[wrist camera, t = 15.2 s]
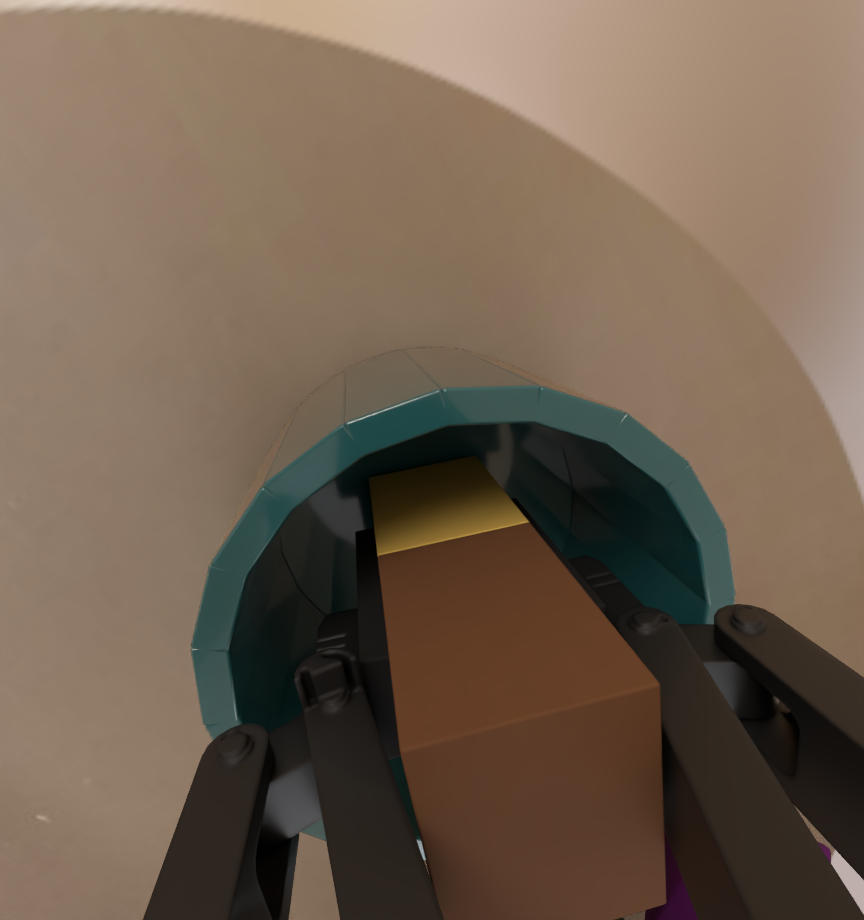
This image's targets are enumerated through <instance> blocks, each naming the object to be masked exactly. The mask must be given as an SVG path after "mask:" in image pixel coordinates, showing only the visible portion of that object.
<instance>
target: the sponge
mask: <svg viewBox="0 0 864 920" xmlns="http://www.w3.org/2000/svg"><path fill="white" fill-rule="evenodd" d="M369 486H370V495H371V504H372V513H373V521H374V530H375V539H376V548H377V556H378V565H379V574H380V583H381V591H382V600H383V609H384V618H385V626H386V635H387V644H388V653H389V661H390V670H391V679H392V688H393V696H394V705H395V714H396V723H397V731H398V740H399V749H400V754H401V758H402V763H403V767H404V771H405V775H406V779H407V783H408V788H409V792H410V796H411V800H412V804H413V808H414V813H415V817H416V821H417V825H418V829H419V833H420V838H421V842H422V846H423V850H424V854H425V858H426V863H427V867H428V871H429V875H430V879H431V883H432V886H433V889H434V892H435V895H436V897H437V900H438V903H439V906H440V909H441V912H442V914H443V917H444V920H614V919H618V918H621V917H624V916H628V915H631V914H634V913H637V912H641V911H644V910H647V909H651V908H654V907H657V906H661V905H664V904H665V903H666V873H665V838H664V803H663V768H662V733H661V698H660V684H659V682H658V681H657V680H656V678H655V677H654V676H653V675H652V673H651V672H650V671H649V670H648V668H647V667H646V666H645V665H644V663H643V662H642V661H641V660H640V658H639V657H638V656H637V655H636V654H635V652H634V651H633V650H632V649H631V647H630V646H629V645H628V644H627V642H626V641H625V640H624V639H623V637H622V636H621V635H620V634H619V632H618V631H617V630H616V629H615V628H614V626H613V625H612V624H611V623H610V621H609V620H608V619H607V618H606V616H605V615H604V614H603V613H602V611H601V610H600V609H599V608H598V606H597V605H596V604H595V603H594V602H593V600H592V599H591V598H590V597H589V595H588V594H587V593H586V592H585V590H584V589H583V588H582V587H581V585H580V584H579V583H578V582H577V580H576V579H575V578H574V577H573V576H572V574H571V573H570V572H569V571H568V569H567V568H566V567H565V566H564V564H563V563H562V562H561V561H560V559H559V558H558V557H557V556H556V554H555V553H554V552H553V551H552V550H551V548H550V547H549V546H548V545H547V543H546V542H545V541H544V540H543V538H542V537H541V536H540V535H539V533H538V532H537V531H536V530H535V528H534V527H533V526H532V525H531V524H530V523H529V521H528V520H527V519H526V517H525V516H524V515H523V514H522V512H521V511H520V510H519V509H518V507H517V506H516V505H515V504H514V502H513V501H512V500H511V499H510V498H509V496H508V495H507V494H506V493H505V491H504V490H503V489H502V488H501V486H500V485H499V484H498V483H497V481H496V480H495V479H494V478H493V476H492V475H491V474H490V473H489V472H488V470H487V469H486V468H485V467H484V465H483V464H482V463H481V462H480V460H479V459H478V458H477V457H476V456H470V457H466V458H461V459H456V460H451V461H446V462H441V463H437V464H432V465H427V466H422V467H417V468H412V469H408V470H403V471H398V472H393V473H388V474H383V475H379V476H374V477H370V478H369Z"/></svg>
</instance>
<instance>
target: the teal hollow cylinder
mask: <svg viewBox="0 0 864 920" xmlns="http://www.w3.org/2000/svg"><path fill="white" fill-rule="evenodd" d="M470 456H476V457H477V458H478V459H479V460H480V462H481V463H482V464H483V465H484V467H485V468H486V469H487V470H488V472H489V473H490V474H491V475H492V476H493V478H494V479H495V480H496V481H497V483H498V484H499V485H500V486H501V488H502V489H503V490H504V491H505V493H506V494H507V495H508V496H509V498H510V499H513V498H516V499H517V500H518V501H519V502H520V504H521V505H522V506H523V507H524V508H525V509H526V511H527V512H528V513H529V514H530V515H531V517H532V518H533V519H534V520H535V521H536V523H537V524H538V525H539V526H540V527H541V529H542V530H543V531H544V532H545V533H546V535H547V536H548V537H549V538H550V539H551V541H552V542H553V543H554V544H555V545H556V547H557V548H558V549H559V550H560V551H561V553H562V554H563V555H564V556H565V557H566V559H572V558H576V557H580V556H585V555H588V556H590V557H593V558H595V559H597V560H599V561H601V562H603V563H604V564H605V566H606V567H607V568H608V569H609V570H610V571H611V572H612V574H614V575H615V576H616V577H617V578H618V579H619V581H620V582H622V583H623V584H624V585H625V586H626V587H627V588H628V589H629V591H630V592H631V593H632V594H633V595H634V596H635V597H636V598H637V599H638V600H639V601H640V602H641V603H642V604H643V605H644V606H645V607H652V608H656V609H660V610H662V611H664V612H666V613H668V614H670V615H671V616H672V617H673V618H674V619H675V620H676V622H677V623H678V624H714V615H715V613H716V612H717V610H718V609H720V608H722V607H724V606H727V605H735V598H734V597H735V595H736V592H735V586H734V579H733V572H732V565H731V558H730V551H729V544H728V537H727V531H726V529H725V525H724V523H723V521H722V519H721V518H720V516H719V514H718V512H717V511H716V509H715V507H714V505H713V504H712V502H711V500H710V498H709V497H708V495H707V493H706V491H705V490H704V488H703V486H702V484H701V483H700V481H699V479H698V477H697V475H696V474H695V472H694V470H693V468H692V467H691V465H690V464H689V462H688V461H687V460H686V459H685V458H684V457H682V456H681V455H680V454H679V453H677V452H676V451H675V450H674V449H672V448H671V447H670V446H669V445H667V444H666V443H665V442H664V441H662V440H661V439H660V438H659V437H657V436H656V435H655V434H653V433H652V432H651V431H650V430H648V429H647V428H646V427H645V426H643V425H642V424H641V423H640V422H638V421H637V420H636V419H635V418H633V417H632V416H631V415H630V414H628V413H626V412H623V411H622V410H619V409H617V408H614V407H612V406H610V405H607V404H605V403H602V402H600V401H598V400H595V399H593V398H590V397H588V396H585V395H583V394H581V393H578V392H576V391H573V390H571V389H568V388H566V387H564V386H561V385H559V384H556V383H554V382H551V381H549V380H547V379H544V378H542V377H539V376H537V375H534V374H532V373H530V372H527V371H525V370H522V369H520V368H517V367H515V366H513V365H510V364H507V363H504V362H501V361H497V360H494V359H491V358H489V357H486V356H483V355H479V354H476V353H473V352H469V351H466V350H463V349H462V350H460V349H451V348H443V347H418V348H411V349H404V350H397V351H392V352H389V353H385V354H382V355H378V356H374V357H371V358H369V359H367V360H364V361H362V362H360V363H357V364H355V365H353V366H351V367H349V368H347V369H345V370H344V371H342V372H340V373H339V374H337V375H335V376H334V377H332V378H330V379H329V380H328V381H327V382H325V383H324V384H323V385H322V386H320V387H319V388H318V389H317V390H315V391H314V392H313V393H312V394H311V395H310V396H309V397H308V398H307V399H306V400H305V401H304V402H303V403H301V404H300V406H299V407H298V408H297V409H296V410H295V412H294V413H293V415H292V416H291V418H290V419H289V420H288V422H287V423H286V424H285V426H284V427H283V429H282V431H281V432H280V434H279V436H278V437H277V439H276V440H275V442H274V443H273V445H272V446H271V448H270V450H269V451H268V453H267V455H266V457H265V459H264V461H263V462H262V464H261V466H260V468H259V470H258V472H257V474H256V476H255V478H254V480H253V482H252V484H251V486H250V488H249V489H248V491H247V493H246V495H245V497H244V499H243V501H242V503H241V505H240V507H239V509H238V511H237V513H236V514H235V516H234V518H233V520H232V522H231V524H230V526H229V528H228V530H227V532H226V534H225V536H224V538H223V540H222V541H221V543H220V545H219V547H218V549H217V551H216V553H215V555H214V557H213V559H212V561H211V563H210V565H209V568H208V572H207V576H206V581H205V585H204V589H203V594H202V598H201V602H200V607H199V611H198V615H197V620H196V624H195V629H194V633H193V637H192V642H191V656H192V662H193V668H194V674H195V680H196V686H197V692H198V698H199V704H200V710H201V716H202V722H203V724H204V725H205V728H206V730H207V732H208V733H209V735H210V736H211V738H212V740H214V739H215V738H216V737H217V736H219V735H220V734H222V733H223V732H225V731H227V730H228V729H230V728H232V727H235V726H238V725H241V724H249V723H255V724H258V725H260V726H263V727H264V729H265V730H266V731H267V733H268V732H270V731H272V730H274V729H276V728H278V727H280V726H282V725H284V724H286V723H288V722H289V721H291V720H293V719H294V718H295V717H296V716H297V715H299V714H300V713H301V712H302V711H303V708H302V705H301V702H300V698H299V695H298V692H297V688H296V685H295V682H294V677H295V671H296V670H297V668H298V667H299V665H300V663H301V662H303V661H304V660H305V659H306V658H307V657H309V656H310V655H312V654H314V653H316V646H317V635H318V627H319V626H320V624H321V623H322V621H323V620H324V618H325V617H326V615H328V614H332V613H337V612H341V611H346V610H350V609H355V608H358V602H357V571H356V540H355V532H356V531H361V530H365V529H370V528H374V521H373V513H372V504H371V495H370V486H369V478H370V477H374V476H379V475H383V474H388V473H393V472H398V471H403V470H408V469H412V468H417V467H422V466H427V465H432V464H437V463H441V462H446V461H451V460H456V459H461V458H466V457H470ZM389 763H390V766H391V769H392V772H393V775H394V777H395V780H396V783H397V786H398V789H399V792H400V795H401V797H402V800H403V803H404V806H405V809H406V812H407V815H408V817H409V820H410V823H411V826H412V829H413V832H414V835H415V837H416V840H417V843H418V846H419V849H420V852H421V855H422V857H423V860H424V861H426V858H425V854H424V850H423V846H422V842H421V838H420V833H419V829H418V825H417V821H416V817H415V813H414V808H413V804H412V800H411V796H410V792H409V788H408V783H407V779H406V775H405V771H404V767H403V763H402V758H401V757H397V758H393V759H389ZM301 832H302V833H305V834H308V835H310V836H313V837H316V838H319V839H322V840H324V841H326V836H325V830H324V824H323V819H321V820H319V821H318V822H316V823H314V824H313V825H311V826H309V827H308V828H306V829H304V830H303V831H301Z"/></svg>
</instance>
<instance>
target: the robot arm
mask: <svg viewBox="0 0 864 920" xmlns="http://www.w3.org/2000/svg"><path fill="white" fill-rule="evenodd" d="M511 500H512V501H513V502H514V504H515V505H516V506H517V507H518V509H519V510H520V511H521V512H522V514H523V515H524V516H525V517H526V519H527V520H528V521H529V523H530V524H531V525H532V526H533V527H534V528H535V530H536V531H537V532H538V533H539V535H540V536H541V537H542V538H543V540H544V541H545V542H546V543H547V545H548V546H549V547H550V548H551V550H552V551H553V552H554V553H555V554H556V556H557V557H558V558H559V559H560V561H561V562H562V563H563V564H564V566H565V567H566V568H567V569H568V571H569V572H570V573H571V574H572V576H573V577H574V578H575V579H576V580H577V582H578V583H579V584H580V585H581V587H582V588H583V589H584V590H585V592H586V593H587V594H588V595H589V597H590V598H591V599H592V600H593V602H594V603H595V604H596V605H597V606H598V608H599V609H600V610H601V611H602V613H603V614H604V615H605V616H606V618H607V619H608V620H609V621H610V623H611V624H612V625H613V626H614V628H615V629H616V630H617V631H618V632H619V634H620V635H621V636H622V637H623V639H624V640H625V641H626V642H627V644H628V645H629V646H630V647H631V649H632V650H633V651H634V652H635V654H636V655H637V656H638V657H639V658H640V660H641V661H642V662H643V663H644V665H645V666H646V667H647V668H648V670H649V671H650V672H651V673H652V675H653V676H654V677H655V678H656V680H657V681H658V682H659V684H660V698H661V733H662V768H663V803H664V831H665V833H666V836H667V839H668V841H669V844H670V847H671V849H672V852H673V855H674V857H675V860H676V863H677V865H678V868H679V871H680V873H681V876H682V879H683V881H684V884H685V887H686V889H687V892H688V895H689V897H690V900H691V903H692V905H693V908H694V911H695V913H696V916H697V919H698V920H864V915H863V913H862V912H861V910H860V908H859V907H858V905H857V904H856V902H855V901H854V899H853V897H852V896H851V894H850V893H849V891H848V890H847V888H846V886H845V885H844V883H843V882H842V880H841V879H840V877H839V876H838V874H837V872H836V871H835V869H834V868H833V866H832V865H831V863H830V861H829V860H828V858H827V857H826V855H825V854H824V852H823V850H822V849H821V847H820V846H819V844H818V843H817V841H816V839H815V838H814V836H813V835H812V833H811V832H810V830H809V828H808V827H807V825H806V824H805V822H804V821H803V819H802V818H801V816H800V814H799V813H798V811H797V810H796V808H795V807H794V805H795V806H796V807H797V808H798V810H799V811H800V812H801V813H802V814H803V815H804V816H805V817H806V818H807V819H808V820H809V821H810V822H811V824H812V825H813V826H814V827H815V828H816V829H817V830H818V831H819V832H820V833H821V834H822V835H823V837H824V838H825V839H826V840H827V841H828V842H829V843H830V844H831V845H832V846H833V847H834V848H835V849H836V851H837V852H838V853H839V854H840V855H841V856H842V857H843V858H844V859H845V860H846V861H847V862H848V863H849V865H850V866H851V867H852V868H853V869H854V870H855V871H856V872H857V873H858V874H859V875H860V876H861V878H863V880H864V677H862V676H861V675H859V674H858V673H857V672H855V671H854V670H852V669H851V668H849V667H848V666H847V665H845V664H844V663H842V662H841V661H839V660H838V659H837V658H835V657H834V656H832V655H831V654H829V653H828V652H827V651H825V650H824V649H822V648H821V647H820V646H818V645H817V644H815V643H814V642H812V641H811V640H810V639H808V638H807V637H805V636H804V635H802V634H801V633H800V632H798V631H797V630H795V629H794V628H792V627H791V626H790V625H788V624H787V623H785V622H784V621H782V620H781V619H780V618H778V617H777V616H775V615H774V614H772V613H770V612H768V611H766V610H764V609H762V608H758V607H755V606H751V605H741V604H735V605H727V606H724V607H722V608H720V609H718V610H717V612H716V613H715V615H714V624H678V623H677V622H676V620H675V619H674V618H673V617H672V616H671V615H670V614H668V613H666V612H664V611H662V610H660V609H656V608H652V607H645V606H644V605H643V604H642V603H641V602H640V601H639V600H638V599H637V598H636V597H635V596H634V595H633V594H632V593H631V592H630V591H629V589H628V588H627V587H626V586H625V585H624V584H623V583H622V582H620V581H619V579H618V578H617V577H616V576H615V575H614V574H612V572H611V571H610V570H609V569H608V568H607V567H606V566H605V564H604V563H603V562H601V561H599V560H597V559H595V558H593V557H590V556H588V555H585V556H580V557H576V558H572V559H566V557H565V556H564V555H563V554H562V553H561V551H560V550H559V549H558V548H557V547H556V545H555V544H554V543H553V542H552V541H551V539H550V538H549V537H548V536H547V535H546V533H545V532H544V531H543V530H542V529H541V527H540V526H539V525H538V524H537V523H536V521H535V520H534V519H533V518H532V517H531V515H530V514H529V513H528V512H527V511H526V509H525V508H524V507H523V506H522V505H521V504H520V502H519V501H518V500H517V499H516V498H513V499H511ZM355 540H356V571H357V602H358V608H355V609H350V610H346V611H341V612H337V613H332V614H328V615H326V617H325V618H324V620H323V621H322V623H321V624H320V626H319V627H318V635H317V646H316V653H314V654H312V655H310V656H309V657H307V658H306V659H305V660H304V661H303V662H301V663H300V665H299V667H298V668H297V670H296V671H295V677H294V682H295V685H296V688H297V692H298V695H299V698H300V702H301V705H302V708H303V711H302V712H301V713H300V714H299V715H297V716H296V717H295V718H294V719H293V720H291V721H289V722H288V723H286V724H284V725H282V726H280V727H278V728H276V729H274V730H272V731H270V732H268V733H267V731H266V730H265V729H264V727H263V726H260V725H258V724H255V723H249V724H241V725H238V726H235V727H232V728H230V729H228V730H227V731H225V732H223V733H222V734H220V735H219V736H217V737H216V738H215V739H214V740H213V741H212V742H211V743H210V744H209V745H208V747H207V748H206V750H205V752H204V754H203V755H202V757H201V760H200V763H199V766H198V768H197V771H196V774H195V777H194V779H193V782H192V785H191V788H190V791H189V793H188V796H187V799H186V802H185V804H184V807H183V810H182V813H181V815H180V818H179V821H178V824H177V827H176V829H175V832H174V835H173V838H172V840H171V843H170V846H169V849H168V852H167V854H166V857H165V860H164V863H163V865H162V868H161V871H160V874H159V877H158V879H157V882H156V885H155V888H154V890H153V893H152V896H151V899H150V902H149V904H148V907H147V910H146V913H145V915H144V918H143V920H288V919H289V911H290V903H291V895H292V887H293V880H294V872H295V864H296V856H297V848H298V841H299V832H301V831H303V830H304V829H306V828H308V827H309V826H311V825H313V824H314V823H316V822H318V821H319V820H321V819H323V824H324V830H325V836H326V841H327V847H328V853H329V858H330V864H331V869H332V875H333V881H334V886H335V892H336V897H337V903H338V909H339V914H340V920H444V917H443V914H442V912H441V909H440V906H439V903H438V900H437V897H436V895H435V892H434V889H433V886H432V883H431V880H430V877H429V875H428V872H427V869H426V866H425V863H424V860H423V857H422V855H421V852H420V849H419V846H418V843H417V840H416V837H415V835H414V832H413V829H412V826H411V823H410V820H409V817H408V815H407V812H406V809H405V806H404V803H403V800H402V797H401V795H400V792H399V789H398V786H397V783H396V780H395V777H394V775H393V772H392V769H391V766H390V763H389V759H393V758H397V757H401V754H400V749H399V740H398V731H397V723H396V714H395V705H394V696H393V688H392V679H391V670H390V661H389V653H388V644H387V635H386V626H385V618H384V609H383V600H382V591H381V583H380V574H379V565H378V556H377V548H376V539H375V530H374V528H370V529H365V530H361V531H356V532H355ZM793 804H794V805H793Z"/></svg>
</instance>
